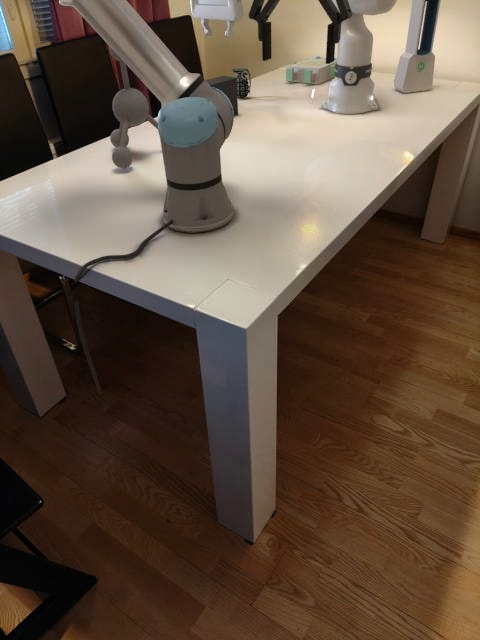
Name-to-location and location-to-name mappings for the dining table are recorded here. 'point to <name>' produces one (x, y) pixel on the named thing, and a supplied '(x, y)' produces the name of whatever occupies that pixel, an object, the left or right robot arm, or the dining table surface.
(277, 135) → the dining table surface
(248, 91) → the grenade
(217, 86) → the box
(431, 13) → the electronic device
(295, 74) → the decorative block
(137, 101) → the molecular model
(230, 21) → the right robot arm
